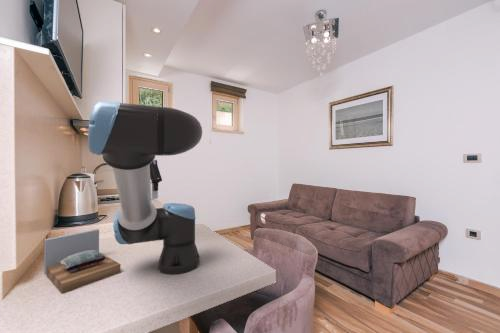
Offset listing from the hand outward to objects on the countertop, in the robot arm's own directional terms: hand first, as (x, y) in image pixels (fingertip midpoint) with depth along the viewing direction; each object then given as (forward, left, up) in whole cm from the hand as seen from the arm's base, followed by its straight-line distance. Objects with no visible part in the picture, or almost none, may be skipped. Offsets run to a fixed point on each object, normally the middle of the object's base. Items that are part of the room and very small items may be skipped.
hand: (144, 197), depth 92 cm
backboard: (+11, +22, -24) cm, 34 cm away
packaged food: (-1, +22, -22) cm, 31 cm away
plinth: (-1, +22, -24) cm, 33 cm away
